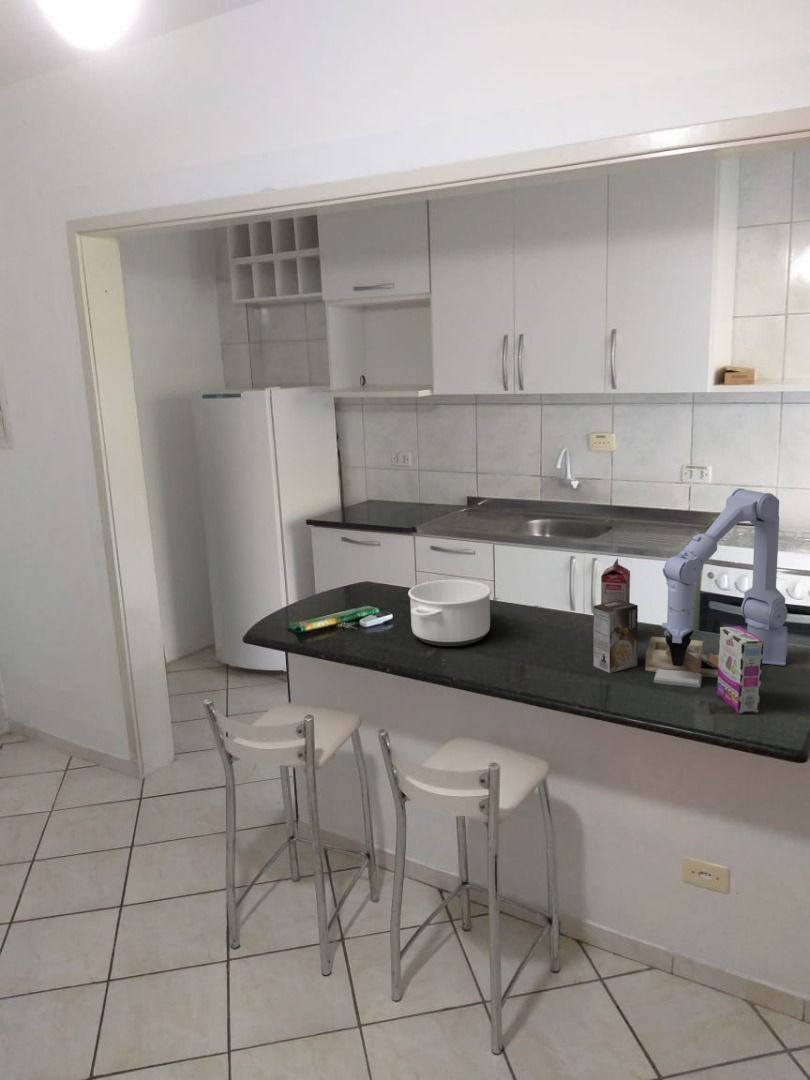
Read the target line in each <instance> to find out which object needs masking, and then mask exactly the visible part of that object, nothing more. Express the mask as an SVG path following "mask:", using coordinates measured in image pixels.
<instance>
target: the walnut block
mask: <svg viewBox="0 0 810 1080" xmlns="http://www.w3.org/2000/svg"><path fill="white" fill-rule="evenodd" d="M665 654H666V655H668V656H669V657H671V652H670V649H669V646H668V647H667V650H666V653H665ZM700 664H701V661H700V660H698V659H697V658H695V657H694V656H693V655H691V654H690V653H688V652H687V651H686V653H685V658H684V662H683V666H684V667H686V668H687V669H688V670H690V671H691V672H693V673H694V674H695V673H696V672H697V671H698V669H699V668H700ZM701 665H702V664H701Z"/></svg>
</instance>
